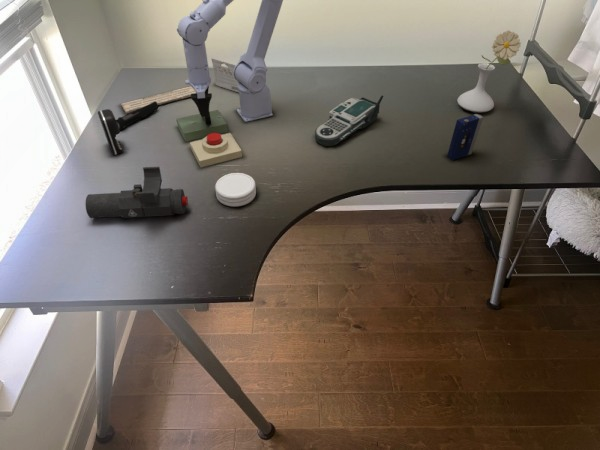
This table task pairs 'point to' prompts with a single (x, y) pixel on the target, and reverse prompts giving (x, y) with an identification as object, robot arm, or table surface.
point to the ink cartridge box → (224, 75)
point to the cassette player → (464, 136)
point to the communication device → (347, 120)
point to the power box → (215, 151)
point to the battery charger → (110, 130)
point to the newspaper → (158, 99)
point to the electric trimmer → (136, 115)
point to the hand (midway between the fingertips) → (204, 109)
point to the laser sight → (139, 199)
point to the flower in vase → (478, 97)
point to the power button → (214, 139)
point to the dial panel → (201, 126)
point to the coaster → (235, 189)
